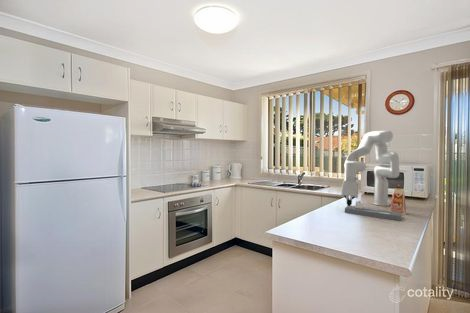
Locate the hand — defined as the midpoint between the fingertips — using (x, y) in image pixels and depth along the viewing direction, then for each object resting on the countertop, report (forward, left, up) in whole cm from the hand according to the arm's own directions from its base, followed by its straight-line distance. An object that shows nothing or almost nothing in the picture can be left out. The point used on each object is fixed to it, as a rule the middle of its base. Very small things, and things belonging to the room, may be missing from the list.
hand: (349, 205), depth 176 cm
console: (0, +14, -4) cm, 15 cm away
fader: (0, +6, -1) cm, 6 cm away
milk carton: (-19, +28, -4) cm, 34 cm away
